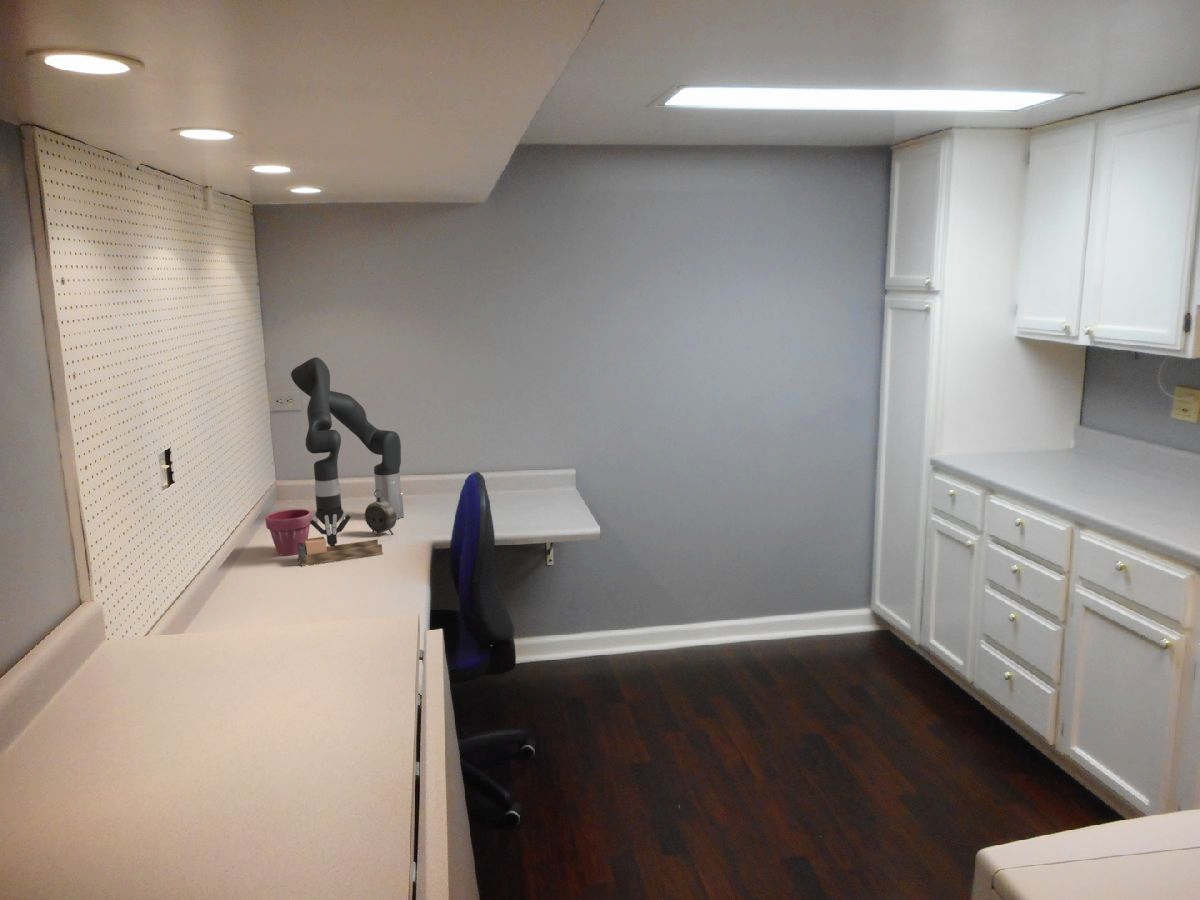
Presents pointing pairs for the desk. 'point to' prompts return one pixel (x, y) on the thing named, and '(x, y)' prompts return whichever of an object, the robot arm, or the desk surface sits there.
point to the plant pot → (288, 529)
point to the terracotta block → (315, 545)
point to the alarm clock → (380, 516)
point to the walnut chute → (340, 552)
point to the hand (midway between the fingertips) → (332, 545)
